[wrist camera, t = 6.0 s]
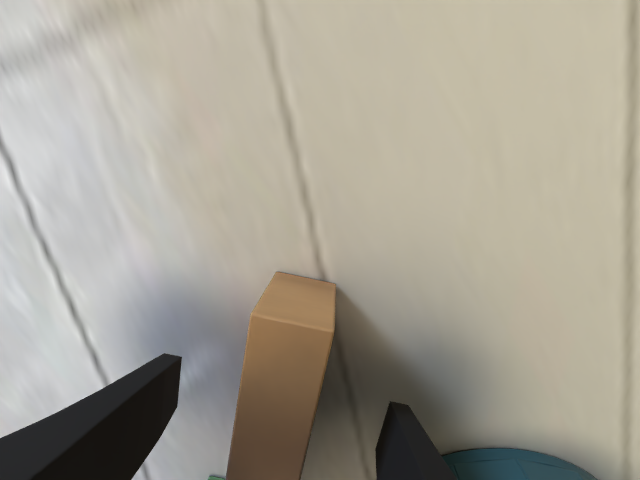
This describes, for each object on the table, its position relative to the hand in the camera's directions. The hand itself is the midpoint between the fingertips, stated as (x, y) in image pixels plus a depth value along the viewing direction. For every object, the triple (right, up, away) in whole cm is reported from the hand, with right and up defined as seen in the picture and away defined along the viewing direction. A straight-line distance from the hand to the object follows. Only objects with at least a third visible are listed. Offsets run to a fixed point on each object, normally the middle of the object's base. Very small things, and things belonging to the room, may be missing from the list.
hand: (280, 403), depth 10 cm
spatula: (-1, -3, +3) cm, 4 cm away
